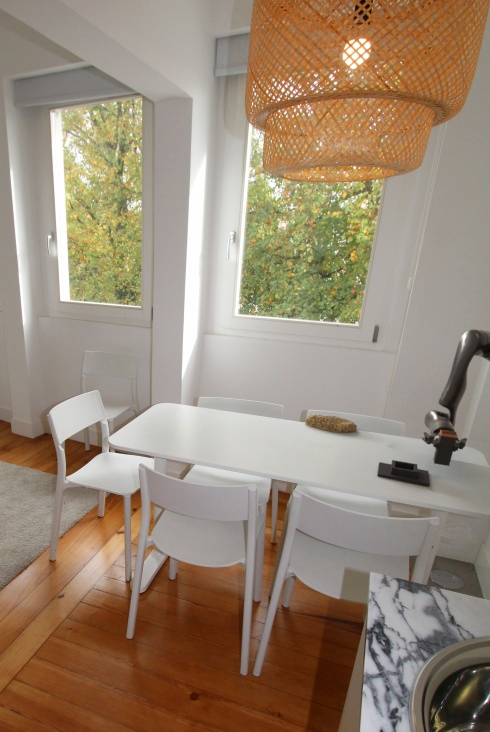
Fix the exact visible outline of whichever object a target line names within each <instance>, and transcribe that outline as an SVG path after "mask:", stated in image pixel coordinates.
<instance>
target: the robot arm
mask: <svg viewBox="0 0 490 732" xmlns="http://www.w3.org/2000/svg"><path fill="white" fill-rule="evenodd" d="M474 357H481V358H483V359H485V360H486V361H488V362H490V331H489V330H483V329H475V328H473V329H468V330H467V331H465V332H464V333H463V334H462V335H461V337H460V339H459V340H458V344H457V347H456V351H455V354H454V357H453V361H452V365H451V369H450V372H449V376H448V378H447V381H446V383H445V386H444V388H443V390H442V391H441V393H440V396H439V398H438V401H437V403H438V405H440V406H441V407H442V408H445V409H447V410H448V412H444V411H440V410H437V409H432V410H429V411H428V412H427V413H426V414H425V416H424V420H423V421H424V422H423V423H424V425H425V427H426V428H427V429H428V430H430V432H429V433H428V432H425V431H424V432H422V437H421V440H422V441H423V442H424V444H426V445H432V446H433V448H434V449H435V450H436V449H438V447H439V440H438V439H439V435H440V430H447V431H454V432H456V429H455V426H456V423H457V422H456V421H457V413H458V409H459V407H460V404H461V401H462V400H463V398H464V395H465V393H466V391H467V387H468V370H469V366H470V363H471V362H472V360H473V359H474ZM467 443H468V438H466V437H463V438H459V437H458V436H457V438H456V442H455V445H454V449H453V453H454V452H457V451H459V450H464V448H465V447H466V446H467Z"/></svg>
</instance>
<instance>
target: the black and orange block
mask: <svg viewBox="0 0 490 732" xmlns="http://www.w3.org/2000/svg"><path fill="white" fill-rule="evenodd" d="M457 437H458V434H457V431H455V432H454V431H447V430H440V435H439V439H438V440H439V447H438V449H435V450H434V455H433V458H432V459H433V464H434V465H442V466H446V467H447V466H448V467H449V466H450V464H451V460H452V458H453V457H452V456H453V453H454V451H453V449H454V445H455V442H456V438H457Z"/></svg>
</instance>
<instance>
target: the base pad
mask: <svg viewBox="0 0 490 732" xmlns="http://www.w3.org/2000/svg"><path fill="white" fill-rule="evenodd" d="M377 468H378V469H377V477H379V478H383V479H389V480H395V481H400V482H403V483H404V482H405V483H410V484H414V485H420V486H426V487H429V486H430V476H429V470H426V469H420V468H418V463H413V462H408V461H402V460H401V461H400V460H396V459H392V460H391V463H386V462H381V461H380V462H378V467H377Z"/></svg>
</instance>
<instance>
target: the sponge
mask: <svg viewBox="0 0 490 732" xmlns="http://www.w3.org/2000/svg"><path fill="white" fill-rule="evenodd" d="M305 425H306V426H309V427H311V428H316V429H320V430H323V431H326V432H332V433H354V432H357V428H358V425H357V424H355V422H354V421H352V420H349V419H346V418H342V417H339V416H333V415H322V414H310V415H309V416H308V417H307V418H305Z"/></svg>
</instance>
